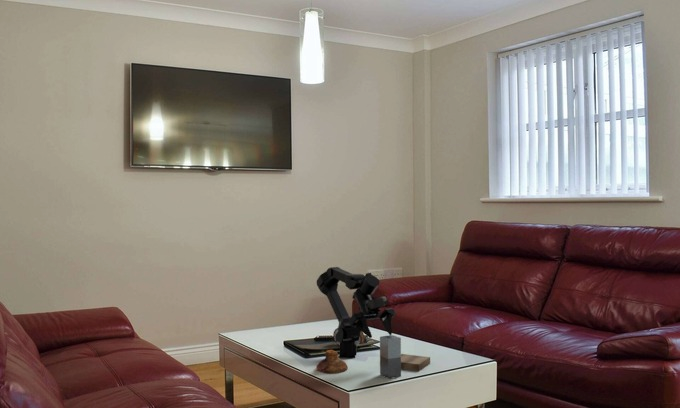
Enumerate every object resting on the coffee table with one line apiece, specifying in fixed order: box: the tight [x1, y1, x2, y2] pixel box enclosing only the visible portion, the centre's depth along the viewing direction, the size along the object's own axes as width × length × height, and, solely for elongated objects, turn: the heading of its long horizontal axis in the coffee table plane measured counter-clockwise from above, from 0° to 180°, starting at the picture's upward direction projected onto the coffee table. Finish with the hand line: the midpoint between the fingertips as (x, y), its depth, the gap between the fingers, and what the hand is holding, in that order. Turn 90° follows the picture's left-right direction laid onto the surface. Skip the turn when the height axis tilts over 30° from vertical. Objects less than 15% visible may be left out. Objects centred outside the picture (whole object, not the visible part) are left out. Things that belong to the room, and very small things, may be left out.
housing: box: [379, 334, 402, 379], centre depth 229 cm, size 6×6×14 cm
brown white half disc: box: [333, 327, 366, 345], centre depth 275 cm, size 15×3×8 cm, turn 58°
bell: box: [315, 349, 348, 374], centre depth 238 cm, size 12×12×7 cm
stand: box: [401, 353, 431, 372], centre depth 242 cm, size 12×12×2 cm
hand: (381, 335), depth 236 cm, fingers open, 9 cm apart
